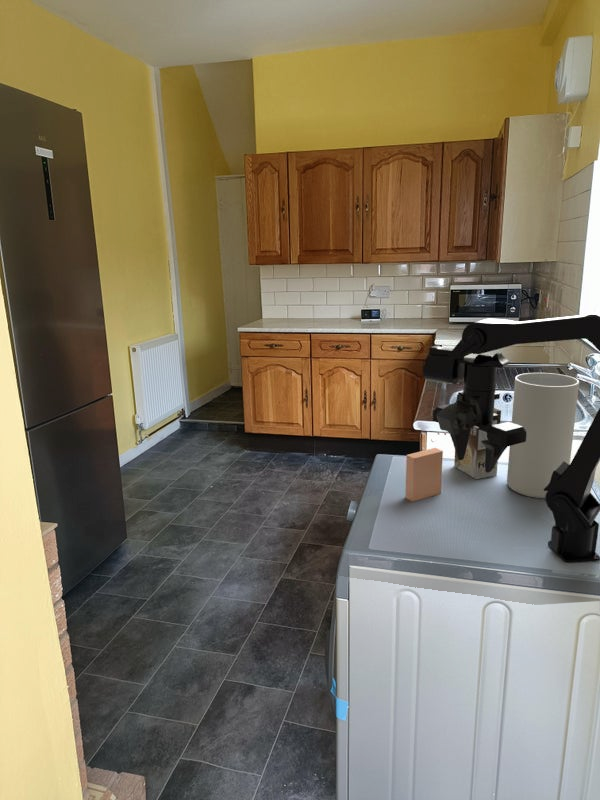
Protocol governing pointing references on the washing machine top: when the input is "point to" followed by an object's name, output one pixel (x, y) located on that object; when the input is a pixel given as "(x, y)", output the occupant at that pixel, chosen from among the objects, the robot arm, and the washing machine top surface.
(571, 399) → the cylinder vase
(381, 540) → the washing machine top surface
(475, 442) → the coffee box
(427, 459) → the block
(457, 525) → the washing machine top surface
